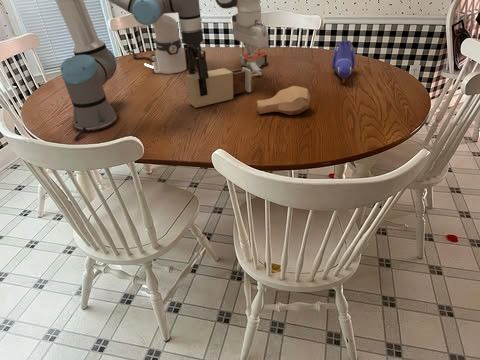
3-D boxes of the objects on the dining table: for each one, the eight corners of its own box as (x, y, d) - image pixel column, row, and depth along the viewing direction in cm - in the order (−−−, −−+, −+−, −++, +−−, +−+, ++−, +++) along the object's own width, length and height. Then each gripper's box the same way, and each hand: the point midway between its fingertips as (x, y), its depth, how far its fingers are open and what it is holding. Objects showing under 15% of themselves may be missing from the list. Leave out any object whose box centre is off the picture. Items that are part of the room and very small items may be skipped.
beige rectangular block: (225, 93, 149) (224, 68, 143) (233, 98, 144) (232, 72, 138) (188, 102, 142) (185, 75, 136) (195, 107, 137) (193, 80, 131)
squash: (314, 116, 128) (313, 95, 122) (259, 125, 130) (256, 105, 124) (308, 99, 136) (307, 78, 129) (257, 108, 138) (253, 88, 131)
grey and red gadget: (258, 80, 163) (278, 64, 175) (258, 69, 159) (279, 54, 172) (226, 73, 170) (248, 58, 183) (226, 62, 167) (248, 48, 179)
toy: (330, 77, 169) (331, 86, 146) (332, 39, 162) (333, 43, 140) (352, 76, 166) (356, 85, 144) (355, 38, 160) (360, 41, 137)
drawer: (255, 85, 155) (256, 64, 150) (262, 89, 151) (263, 67, 146) (211, 95, 145) (210, 73, 140) (217, 99, 141) (216, 77, 136)
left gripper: (214, 33, 120) (220, 97, 133) (189, 23, 133) (197, 82, 147) (194, 37, 117) (202, 103, 130) (170, 27, 130) (180, 87, 144)
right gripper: (272, 21, 129) (272, 60, 137) (242, 13, 143) (244, 48, 151) (258, 24, 126) (258, 63, 134) (229, 15, 140) (231, 51, 149)
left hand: (199, 92), depth 139 cm, fingers closed on beige rectangular block, 7 cm apart
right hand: (250, 55), depth 143 cm, fingers closed
